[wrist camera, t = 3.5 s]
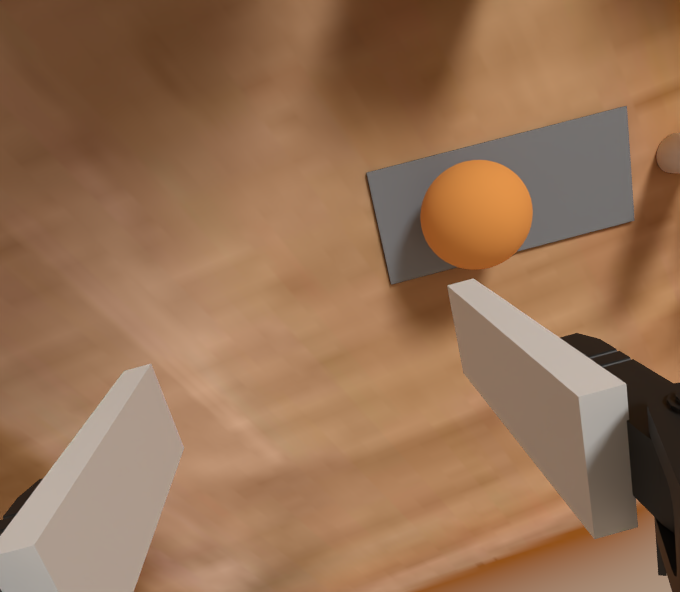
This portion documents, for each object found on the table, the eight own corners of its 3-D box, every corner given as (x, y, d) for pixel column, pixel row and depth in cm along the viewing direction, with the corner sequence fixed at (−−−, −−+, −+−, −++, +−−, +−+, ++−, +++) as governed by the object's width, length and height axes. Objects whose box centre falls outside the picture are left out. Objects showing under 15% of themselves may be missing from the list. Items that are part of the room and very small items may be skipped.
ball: (419, 268, 32) (448, 294, 26) (400, 172, 30) (427, 178, 24) (511, 244, 32) (560, 264, 26) (497, 147, 30) (546, 147, 24)
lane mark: (390, 283, 32) (391, 284, 32) (366, 172, 30) (366, 173, 29) (632, 220, 32) (634, 220, 32) (624, 106, 30) (626, 106, 30)
